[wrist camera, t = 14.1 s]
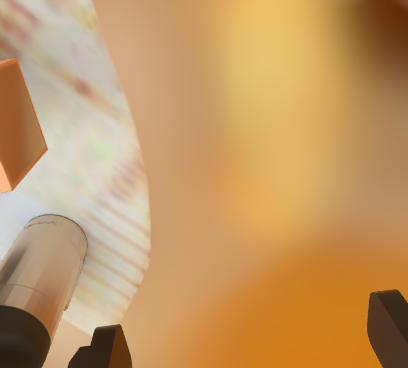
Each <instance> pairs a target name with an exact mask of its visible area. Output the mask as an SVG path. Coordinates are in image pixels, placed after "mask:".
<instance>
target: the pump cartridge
mask: <svg viewBox="0 0 408 368" xmlns="http://www.w3.org/2000/svg"><path fill="white" fill-rule="evenodd" d="M47 150H48V148H47V145H46V142H45V139H44V136H43V134H42V131H41V128H40V125H39V122H38V119H37V116H36V113H35V110H34V107H33V104H32V101H31V98H30V95H29V92H28V90H27V87H26V84H25V81H24V78H23V75H22V72H21V69H20V66H19V63H18V60H17V58H11V59H4V60H0V192H8V191H13V189H14V188H15V187H16V186H17V185H18V184H19V182H20V181H21V180H22V179H23V178H24V177H25V175H26V174H27V173H28V172H29V171H30V170H31V168H32V167H33V166H34V165H35V164H36V163H37V161H38V160H39V159H40V158H41V157H42V156H43V154H44V153H45V152H46V151H47Z"/></svg>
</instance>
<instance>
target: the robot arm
mask: <svg viewBox="0 0 408 368" xmlns="http://www.w3.org/2000/svg"><path fill="white" fill-rule="evenodd" d="M86 250H87V240H86V237H85V234H84V233H83V231H82V230H81V229H80V227H79V226H78V225H76V224H75V223H74V222H72V221H71V220H69V219H67V218H64V217H61V216H56V215H44V216H40V217H37V218H35V219H32V220H31V221H30V222H29V223H28V224H27V225H26V226H25V228H24V229H23V230H22V232H21V233H20V235H19V236H18V238H17V239H16V241H15V242H14V244H13V245H12V247H11V248H10V249H9V251H8V252H7V254H6V255H5V257H4V258H3V260H2V261H1V263H0V368H42V366H43V364H44V362H45V360H46V357H47V354H48V351H49V348H50V346H51V343H52V340H53V338H54V335H55V332H56V329H57V327H58V324H59V322H60V319H61V316H62V314H63V311H65V310H66V309H67V308H68V306H69V303H70V300H71V298H72V295H73V292H74V289H75V287H76V284H77V281H78V278H79V276H80V273H81V270H82V268H83V265H84V261H83V258H84V256H85V253H86ZM367 332H368V337H369V340H370V343H371V346H372V348H373V349H374V351H375V353H376V355H377V357H378V359H379V361H380V363H381V365H382V367H383V368H408V303H407V302H406V300H405V299H404V297H403V296H402V295H401V293H400V292H399V291H398V290H396V289H394V290H386V291H378V292H372V293H371V294H370V298H369V310H368V322H367ZM68 368H132V361H131V356H130V352H129V349H128V346H127V342H126V339H125V336H124V333H123V330H122V327H121V325H120V324H118V325H111V326H103V327H97V328H96V329H95V331H94V334H93V338H92V341H91V345H90V346H84V347H80V348H79V349H78V351H77V352H76V353H75V355H74V356H73V358H72V359H71V360H70V362H69V365H68Z"/></svg>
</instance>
